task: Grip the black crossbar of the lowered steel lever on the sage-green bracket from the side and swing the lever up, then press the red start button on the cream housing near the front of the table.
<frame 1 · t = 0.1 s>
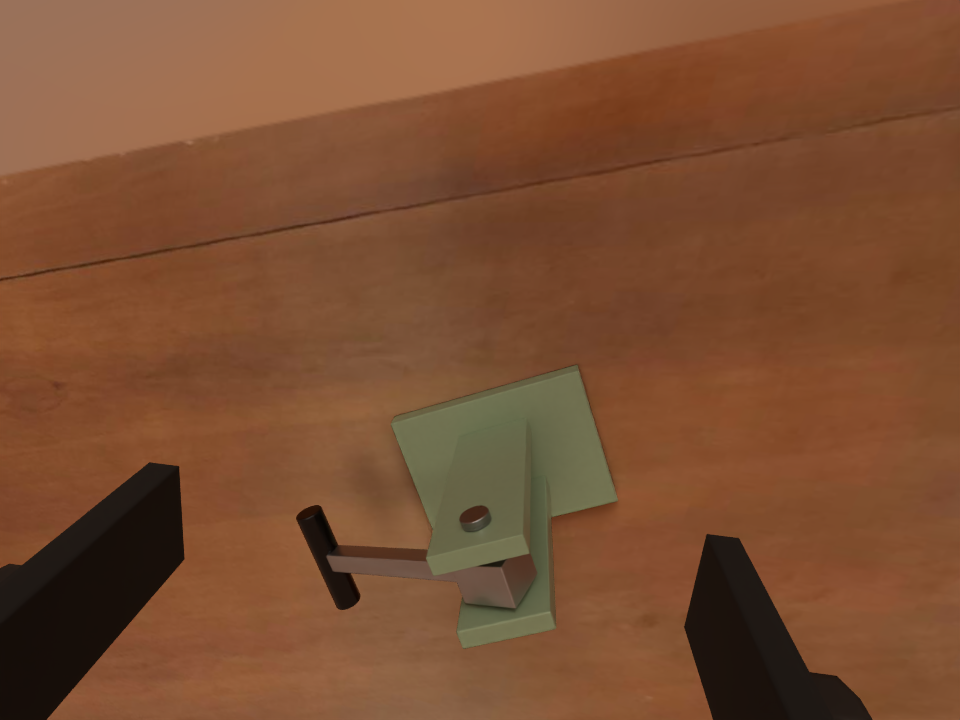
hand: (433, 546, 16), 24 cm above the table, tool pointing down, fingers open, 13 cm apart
lever: (409, 563, 32), point 10 cm above the table, hinge at -25.0°
bracket: (505, 454, 41), on the table
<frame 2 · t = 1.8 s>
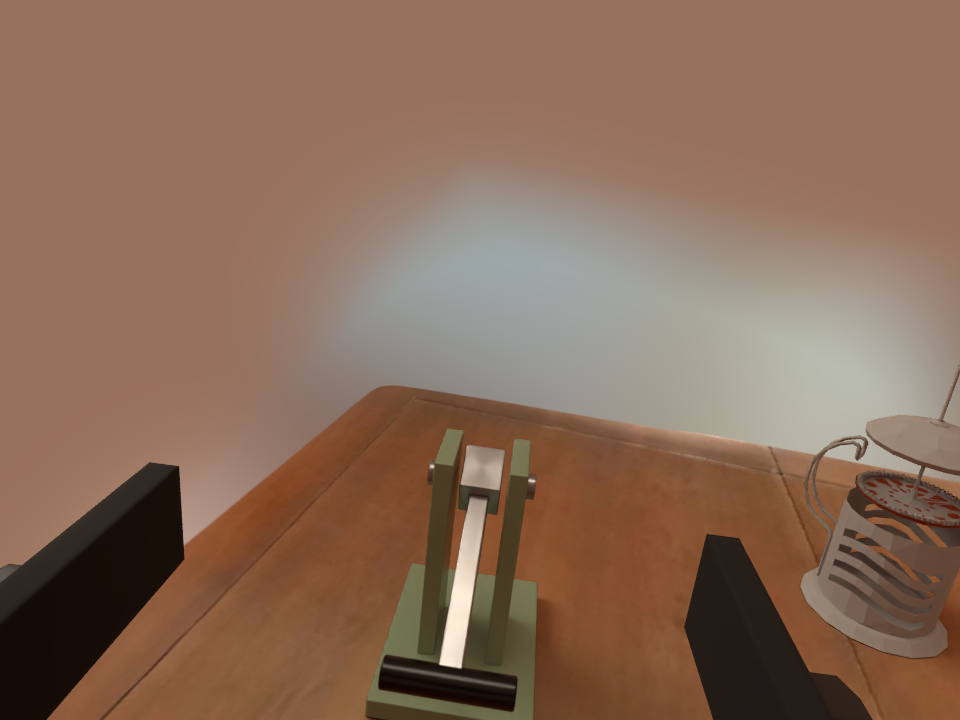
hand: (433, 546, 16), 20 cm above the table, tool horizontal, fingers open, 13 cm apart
lever: (468, 562, 33), point 10 cm above the table, hinge at -25.0°
bracket: (461, 648, 40), on the table
french press: (857, 603, 49), on the table
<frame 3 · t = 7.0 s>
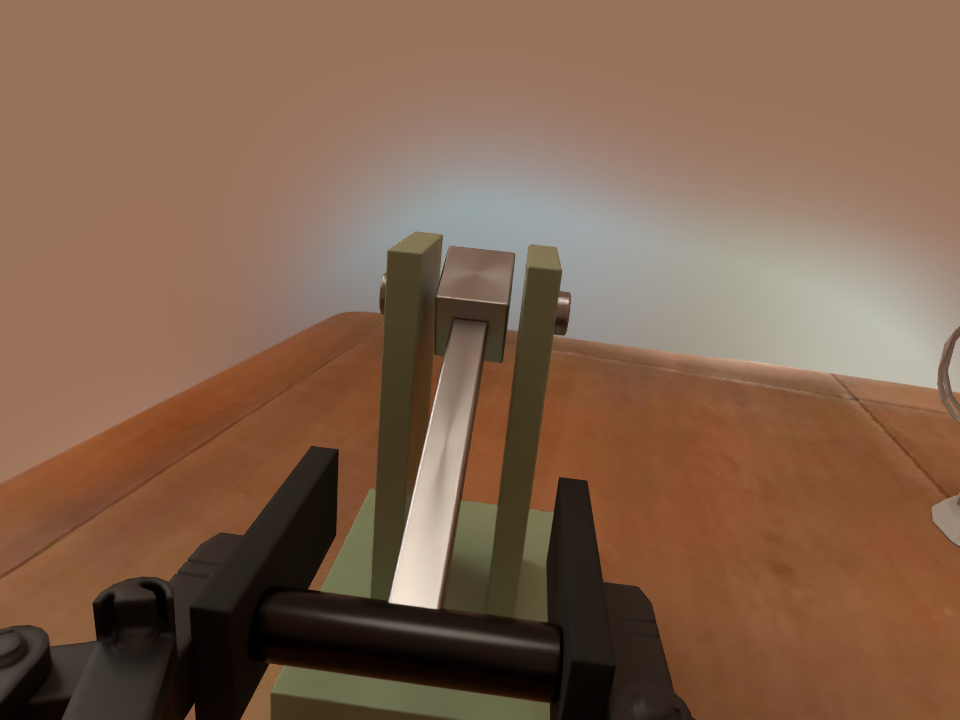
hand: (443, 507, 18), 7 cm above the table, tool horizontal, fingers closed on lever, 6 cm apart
lever: (452, 423, 17), point 10 cm above the table, hinge at -25.0°, touching gripper
bracket: (445, 608, 25), on the table
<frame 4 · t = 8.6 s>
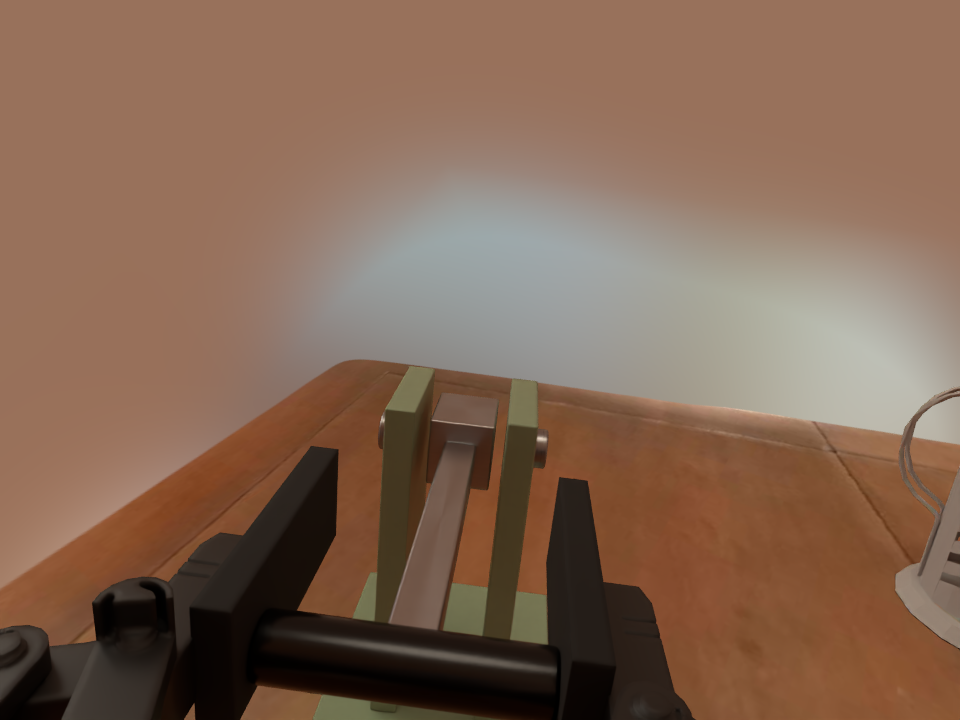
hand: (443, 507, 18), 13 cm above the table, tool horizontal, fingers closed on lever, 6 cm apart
lever: (445, 513, 18), point 12 cm above the table, hinge at 0.9°, touching gripper
bracket: (439, 697, 27), on the table
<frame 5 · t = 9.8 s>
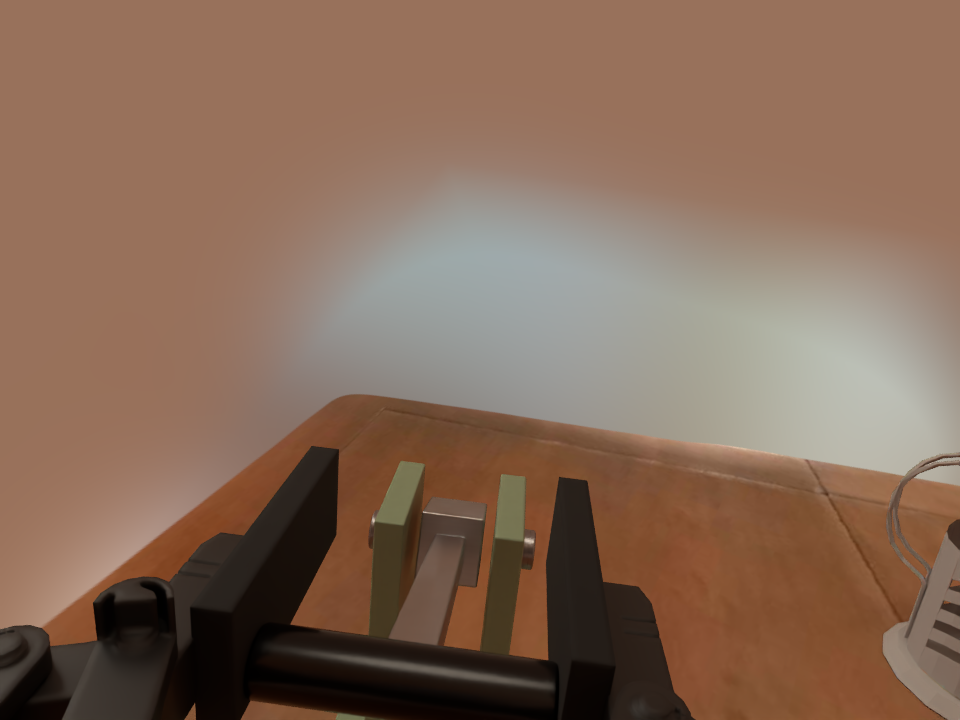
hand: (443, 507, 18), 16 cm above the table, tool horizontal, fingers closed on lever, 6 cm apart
lever: (437, 584, 19), point 14 cm above the table, hinge at 19.5°, touching gripper
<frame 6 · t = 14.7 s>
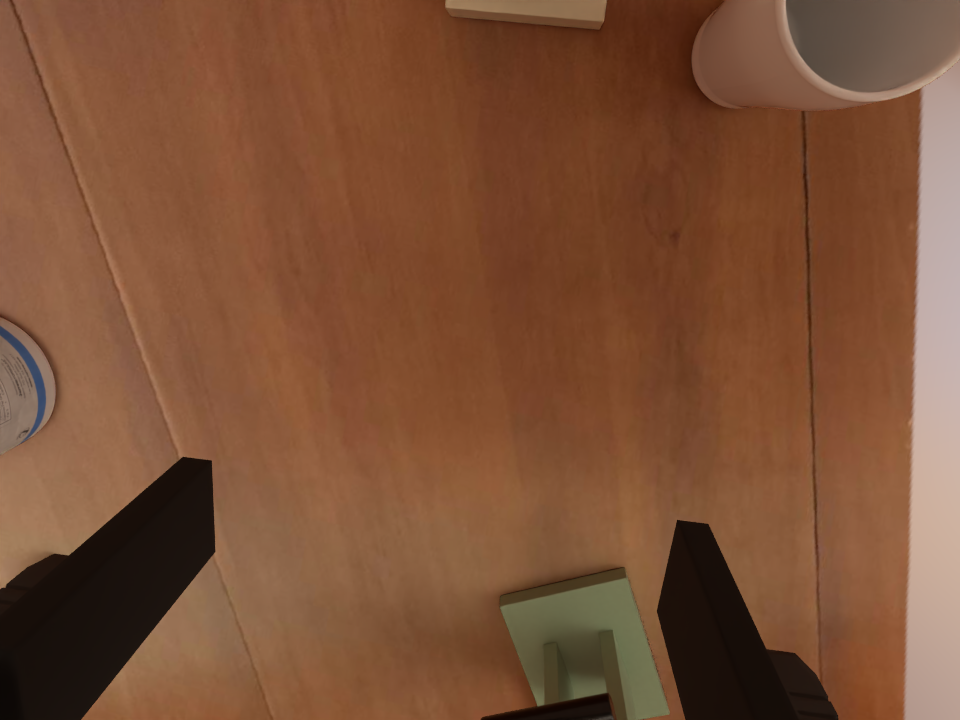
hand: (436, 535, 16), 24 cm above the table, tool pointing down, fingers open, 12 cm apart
drinking glass: (739, 56, 34), on the table
bracket: (584, 649, 46), on the table
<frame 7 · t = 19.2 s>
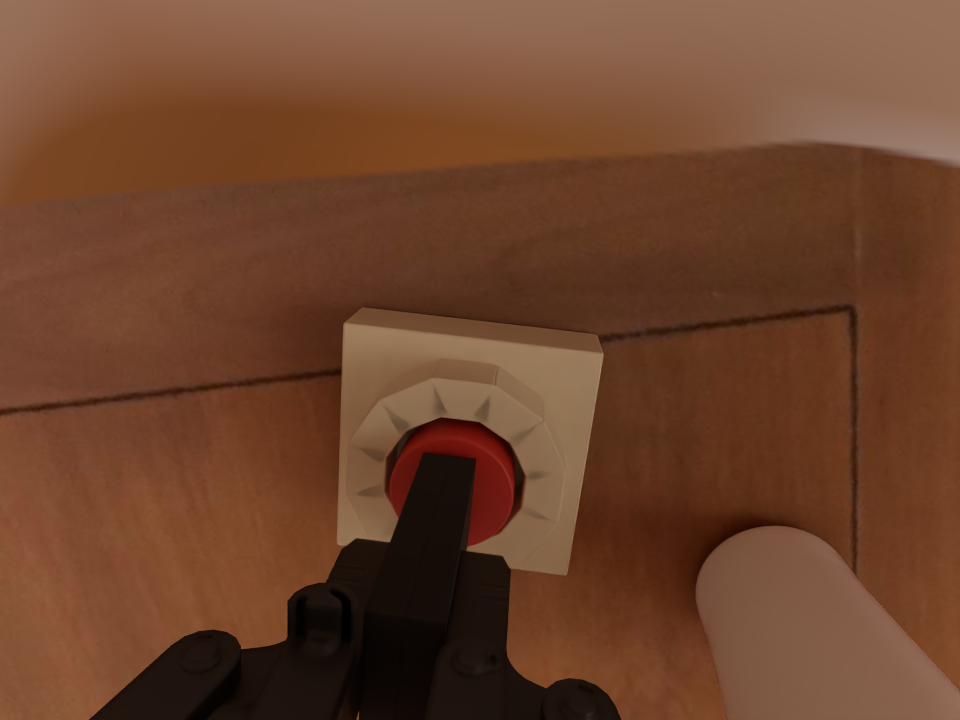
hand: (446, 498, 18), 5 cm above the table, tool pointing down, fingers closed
button: (454, 480, 19), point 4 cm above the table, slide at -0.6 cm, touching gripper
button box: (467, 428, 23), on the table
drinking glass: (763, 577, 24), on the table
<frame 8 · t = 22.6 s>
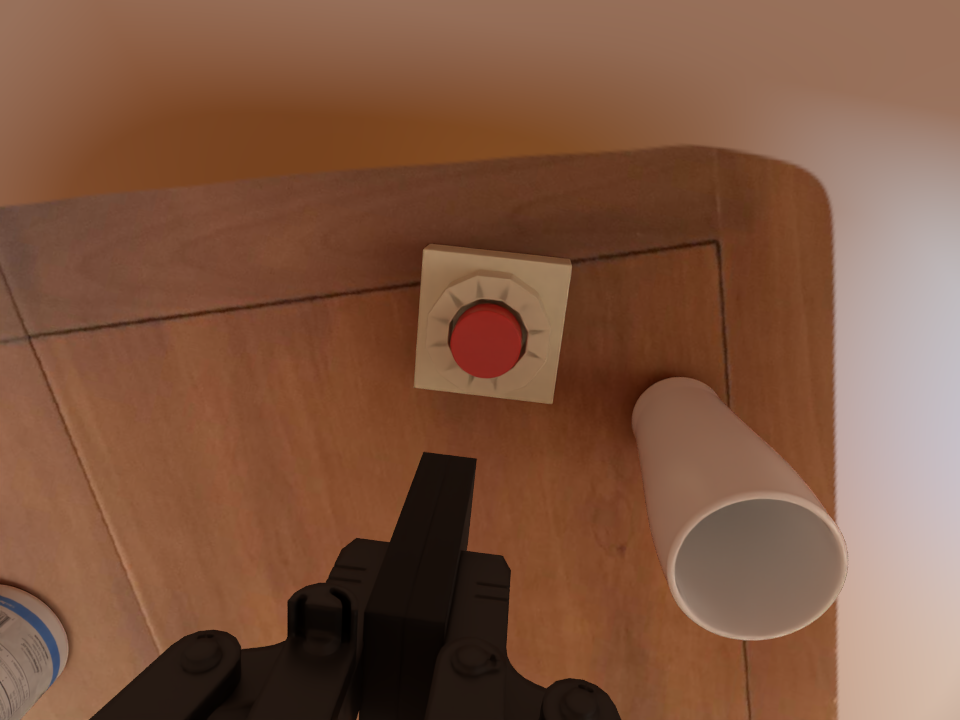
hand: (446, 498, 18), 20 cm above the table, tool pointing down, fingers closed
button: (486, 340, 33), point 4 cm above the table, slide at 0.1 cm
button box: (492, 319, 37), on the table
drinking glass: (674, 414, 39), on the table
supplement tub: (16, 629, 48), on the table
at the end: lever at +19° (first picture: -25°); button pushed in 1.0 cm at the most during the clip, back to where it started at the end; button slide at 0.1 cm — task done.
